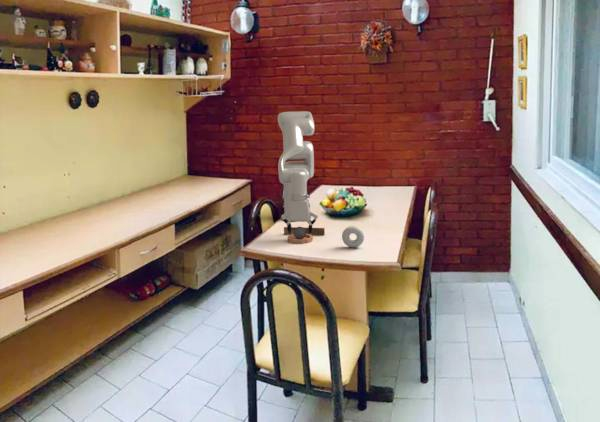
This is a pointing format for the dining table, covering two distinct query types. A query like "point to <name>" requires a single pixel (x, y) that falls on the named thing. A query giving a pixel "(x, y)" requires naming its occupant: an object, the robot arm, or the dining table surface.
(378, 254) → the dining table surface
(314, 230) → the wall
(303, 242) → the bowl
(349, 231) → the donut
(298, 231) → the ball
